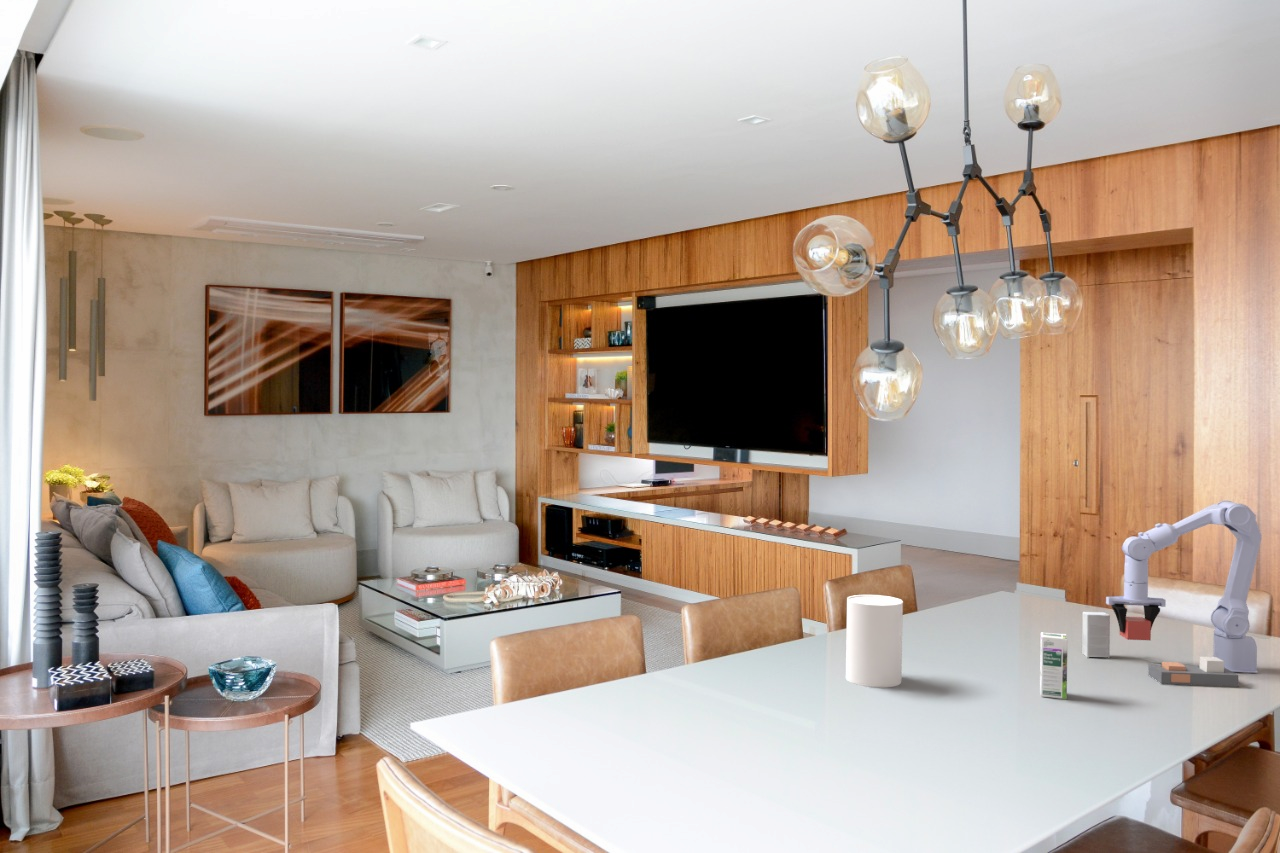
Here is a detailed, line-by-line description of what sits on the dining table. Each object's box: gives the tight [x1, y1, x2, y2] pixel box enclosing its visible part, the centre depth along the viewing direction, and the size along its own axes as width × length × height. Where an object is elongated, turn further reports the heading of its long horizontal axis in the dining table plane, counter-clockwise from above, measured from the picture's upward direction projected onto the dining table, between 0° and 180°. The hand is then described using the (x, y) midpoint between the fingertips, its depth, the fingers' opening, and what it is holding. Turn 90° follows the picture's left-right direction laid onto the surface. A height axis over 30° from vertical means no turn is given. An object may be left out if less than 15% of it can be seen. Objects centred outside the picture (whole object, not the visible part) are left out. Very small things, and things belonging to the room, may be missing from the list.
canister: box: [845, 594, 904, 688], centre depth 244 cm, size 14×14×20 cm
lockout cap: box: [1119, 616, 1152, 641], centre depth 262 cm, size 6×6×5 cm
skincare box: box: [1081, 611, 1111, 659], centre depth 269 cm, size 6×4×12 cm
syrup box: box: [1039, 631, 1069, 700], centre depth 232 cm, size 6×6×14 cm
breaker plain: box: [1199, 656, 1224, 673], centre depth 245 cm, size 4×4×4 cm
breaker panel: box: [1147, 663, 1239, 688], centre depth 245 cm, size 18×8×3 cm, turn 83°
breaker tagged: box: [1161, 661, 1186, 671], centre depth 246 cm, size 4×4×4 cm
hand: (1134, 632), depth 262 cm, fingers closed on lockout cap, 6 cm apart
